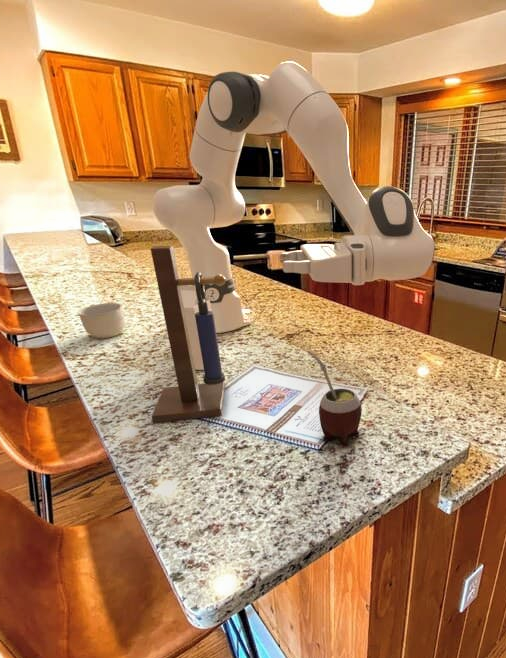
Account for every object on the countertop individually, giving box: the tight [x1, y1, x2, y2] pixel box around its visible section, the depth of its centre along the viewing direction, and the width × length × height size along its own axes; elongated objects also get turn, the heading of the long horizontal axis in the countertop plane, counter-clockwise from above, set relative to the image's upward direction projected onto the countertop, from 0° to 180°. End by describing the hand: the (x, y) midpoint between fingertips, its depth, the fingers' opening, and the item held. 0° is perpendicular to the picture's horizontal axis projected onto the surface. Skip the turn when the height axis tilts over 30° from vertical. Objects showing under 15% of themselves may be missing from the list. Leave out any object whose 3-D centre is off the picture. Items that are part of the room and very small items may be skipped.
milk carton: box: [180, 285, 211, 371], centre depth 98 cm, size 7×7×19 cm
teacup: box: [77, 302, 126, 339], centre depth 122 cm, size 14×11×8 cm
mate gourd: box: [307, 349, 363, 448], centre depth 70 cm, size 8×8×15 cm
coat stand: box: [150, 245, 226, 424], centre depth 78 cm, size 12×16×30 cm
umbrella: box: [195, 272, 226, 385], centre depth 79 cm, size 6×4×21 cm, turn 13°
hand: (280, 262), depth 80 cm, fingers open, 8 cm apart
